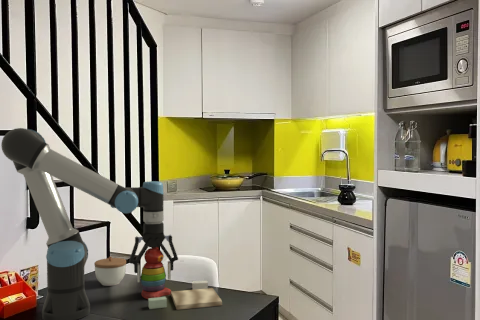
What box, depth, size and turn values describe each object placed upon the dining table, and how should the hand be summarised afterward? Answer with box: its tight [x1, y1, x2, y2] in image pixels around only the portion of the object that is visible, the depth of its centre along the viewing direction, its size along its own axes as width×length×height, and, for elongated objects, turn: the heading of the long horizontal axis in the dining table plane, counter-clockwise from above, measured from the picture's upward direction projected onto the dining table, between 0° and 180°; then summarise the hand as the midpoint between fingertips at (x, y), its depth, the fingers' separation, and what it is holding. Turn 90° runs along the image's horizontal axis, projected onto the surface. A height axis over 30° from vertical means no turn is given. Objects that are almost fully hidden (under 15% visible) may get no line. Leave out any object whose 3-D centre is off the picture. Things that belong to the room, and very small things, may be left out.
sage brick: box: [147, 296, 168, 310], centre depth 159 cm, size 6×3×3 cm, turn 109°
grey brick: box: [191, 280, 209, 290], centre depth 179 cm, size 6×3×3 cm, turn 97°
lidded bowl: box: [94, 256, 127, 287], centre depth 188 cm, size 13×13×11 cm
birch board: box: [170, 287, 223, 311], centre depth 166 cm, size 16×16×2 cm
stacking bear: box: [140, 247, 172, 300], centre depth 173 cm, size 11×10×18 cm
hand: (154, 280), depth 173 cm, fingers open, 11 cm apart
